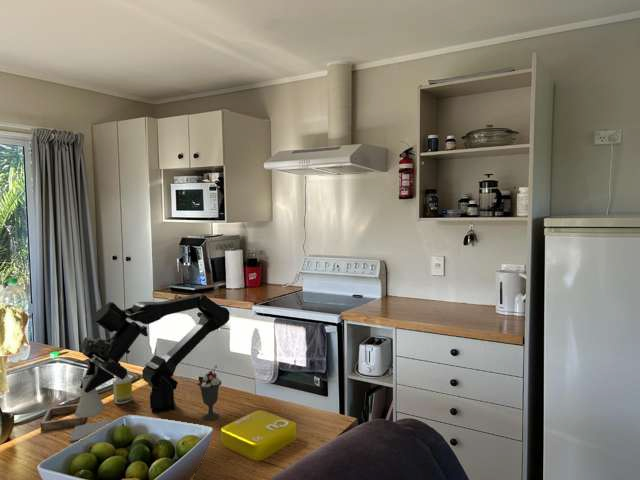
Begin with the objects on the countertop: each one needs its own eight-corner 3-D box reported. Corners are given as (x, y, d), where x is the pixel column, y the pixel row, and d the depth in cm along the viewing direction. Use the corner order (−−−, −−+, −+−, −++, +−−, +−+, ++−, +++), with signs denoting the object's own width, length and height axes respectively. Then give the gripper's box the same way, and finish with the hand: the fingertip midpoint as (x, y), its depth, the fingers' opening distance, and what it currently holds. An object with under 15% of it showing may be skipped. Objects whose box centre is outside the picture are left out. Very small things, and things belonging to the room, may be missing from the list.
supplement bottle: (136, 399, 152) (134, 369, 151) (121, 405, 147) (119, 374, 146) (125, 395, 154) (123, 366, 154) (110, 402, 150) (108, 371, 149)
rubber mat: (110, 421, 136) (110, 420, 136) (107, 436, 128) (107, 434, 128) (75, 427, 133) (75, 425, 133) (69, 442, 125) (69, 440, 125)
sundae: (227, 416, 138) (225, 366, 137) (207, 424, 133) (205, 372, 132) (214, 409, 143) (212, 361, 141) (194, 417, 138) (192, 367, 136)
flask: (87, 405, 135) (85, 371, 134) (110, 407, 133) (108, 372, 132) (69, 417, 127) (66, 381, 127) (93, 419, 126) (91, 382, 125)
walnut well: (88, 408, 145) (88, 402, 145) (83, 424, 135) (82, 417, 135) (49, 414, 142) (48, 408, 142) (40, 430, 132) (40, 423, 131)
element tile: (260, 423, 134) (259, 406, 134) (300, 439, 125) (299, 421, 125) (217, 444, 123) (217, 426, 122) (258, 464, 113) (257, 444, 113)
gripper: (88, 319, 138) (48, 367, 131) (112, 331, 124) (69, 385, 118) (117, 340, 144) (81, 386, 137) (143, 353, 130) (104, 405, 124)
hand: (83, 390), depth 129 cm, fingers closed on flask, 3 cm apart
